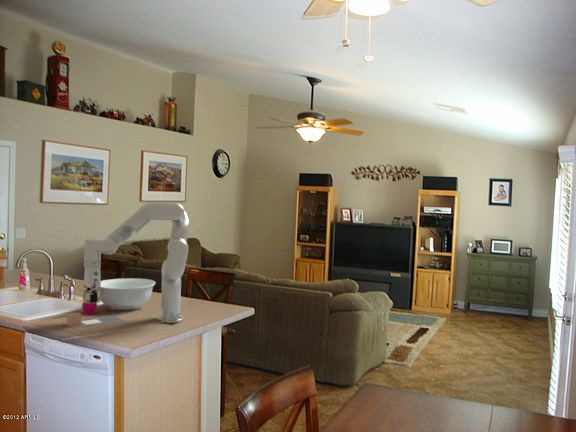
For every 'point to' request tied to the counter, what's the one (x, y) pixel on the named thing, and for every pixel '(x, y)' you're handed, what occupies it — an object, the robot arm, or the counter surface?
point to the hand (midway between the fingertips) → (91, 300)
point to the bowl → (125, 292)
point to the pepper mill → (89, 307)
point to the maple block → (87, 297)
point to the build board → (96, 321)
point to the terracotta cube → (74, 319)
